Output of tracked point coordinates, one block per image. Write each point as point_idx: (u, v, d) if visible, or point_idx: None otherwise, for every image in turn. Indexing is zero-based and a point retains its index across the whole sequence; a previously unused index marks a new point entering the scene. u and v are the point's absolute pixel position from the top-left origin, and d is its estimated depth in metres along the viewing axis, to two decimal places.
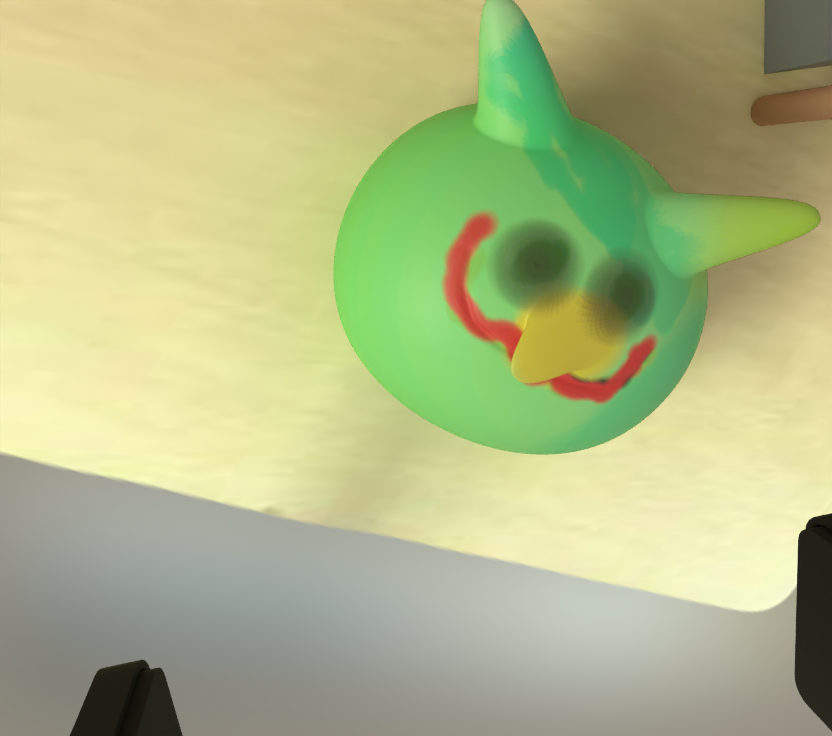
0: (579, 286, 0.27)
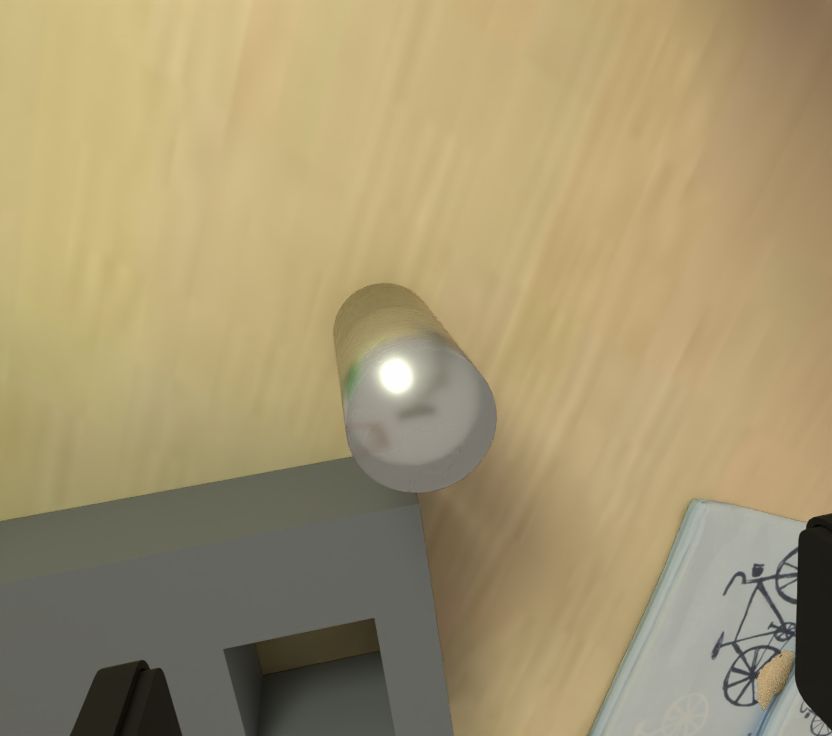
0: None
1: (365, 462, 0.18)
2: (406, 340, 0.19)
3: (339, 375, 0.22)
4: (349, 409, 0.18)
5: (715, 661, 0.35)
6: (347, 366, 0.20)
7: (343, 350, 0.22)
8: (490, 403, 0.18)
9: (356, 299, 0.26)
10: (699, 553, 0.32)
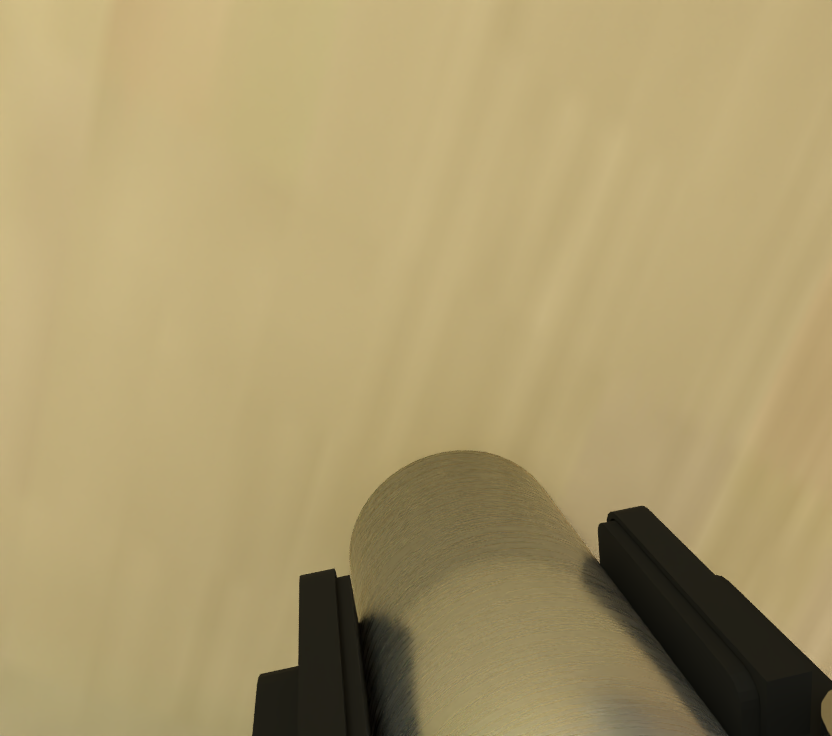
0: None
1: None
2: None
3: None
4: None
5: None
6: None
7: None
8: None
9: (405, 506, 0.11)
10: None
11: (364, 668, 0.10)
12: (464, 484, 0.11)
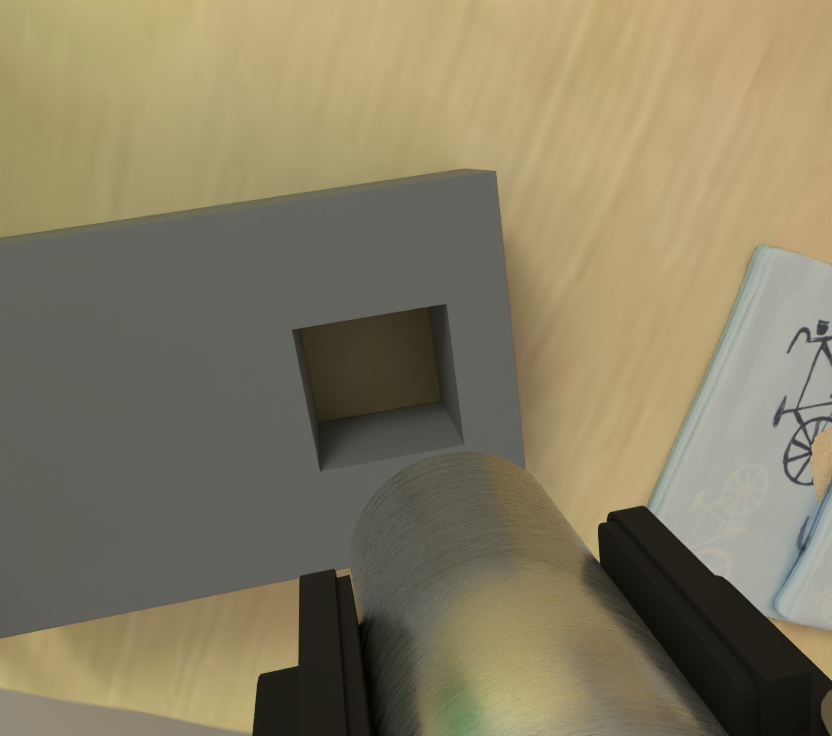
0: None
1: None
2: None
3: None
4: None
5: (776, 429, 0.34)
6: None
7: None
8: None
9: (406, 507, 0.11)
10: (765, 301, 0.31)
11: (365, 670, 0.10)
12: (465, 485, 0.11)
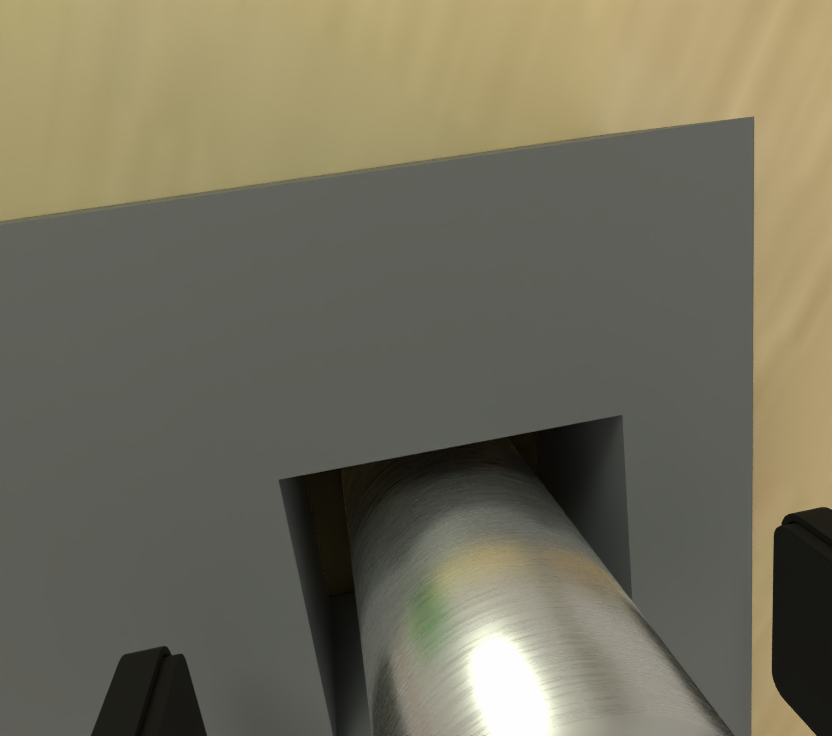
0: None
1: None
2: (542, 644, 0.07)
3: (361, 630, 0.11)
4: None
5: None
6: (384, 656, 0.09)
7: (368, 572, 0.11)
8: None
9: None
10: None
11: (350, 538, 0.13)
12: None
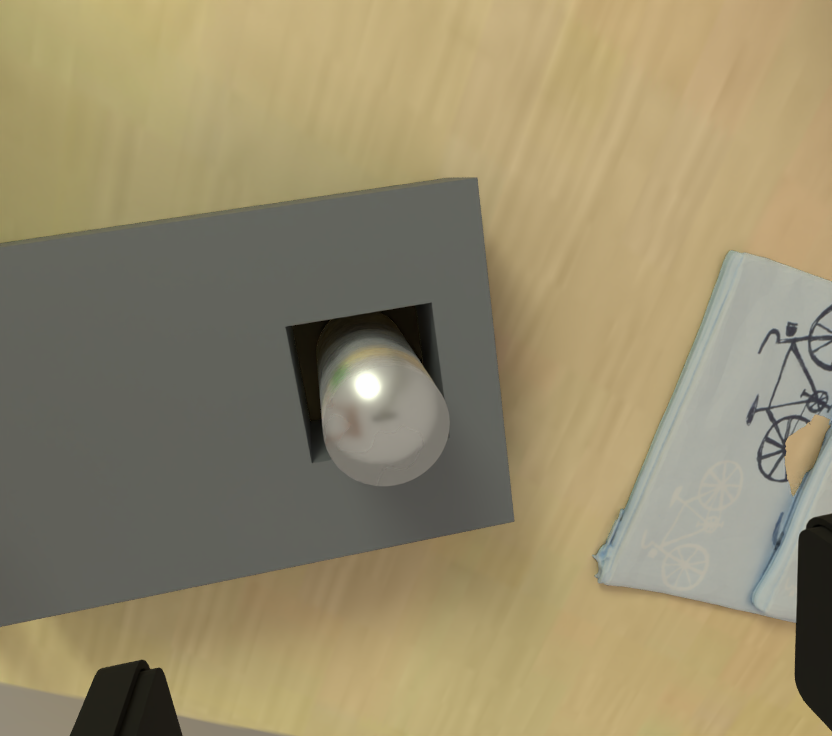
0: None
1: (340, 461, 0.22)
2: (374, 358, 0.22)
3: (319, 388, 0.26)
4: (326, 415, 0.21)
5: (750, 427, 0.35)
6: (325, 380, 0.24)
7: (323, 367, 0.26)
8: (443, 410, 0.22)
9: (335, 322, 0.30)
10: (736, 304, 0.33)
11: (318, 367, 0.28)
12: None
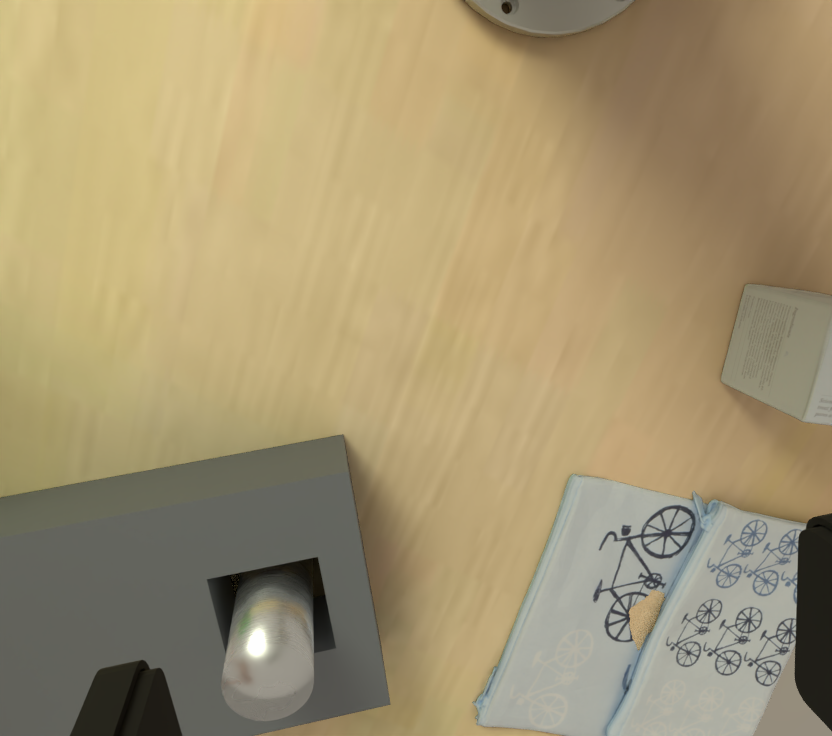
0: None
1: (234, 706, 0.31)
2: (261, 629, 0.31)
3: None
4: (222, 678, 0.30)
5: (597, 604, 0.44)
6: (230, 633, 0.33)
7: (234, 608, 0.35)
8: (309, 670, 0.31)
9: None
10: (577, 516, 0.42)
11: None
12: None
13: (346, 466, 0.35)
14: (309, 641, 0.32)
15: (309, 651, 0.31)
